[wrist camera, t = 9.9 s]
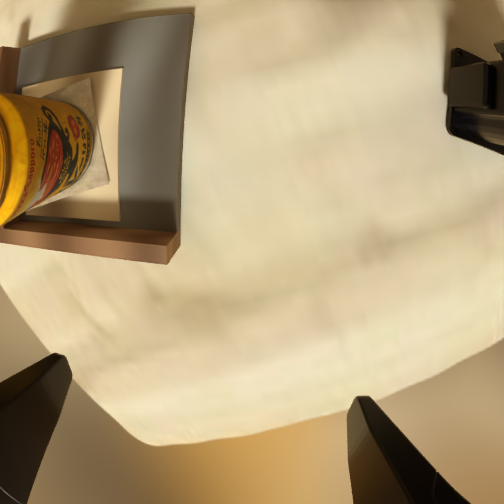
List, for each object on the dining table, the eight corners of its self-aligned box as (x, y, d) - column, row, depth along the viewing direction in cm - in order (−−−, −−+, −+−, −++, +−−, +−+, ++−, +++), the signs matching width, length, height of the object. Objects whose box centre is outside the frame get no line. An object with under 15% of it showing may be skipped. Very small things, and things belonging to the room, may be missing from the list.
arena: (194, 17, 14) (181, 1, 12) (180, 245, 20) (167, 264, 18) (17, 52, 15) (-7, 50, 12) (19, 228, 21) (-3, 242, 18)
